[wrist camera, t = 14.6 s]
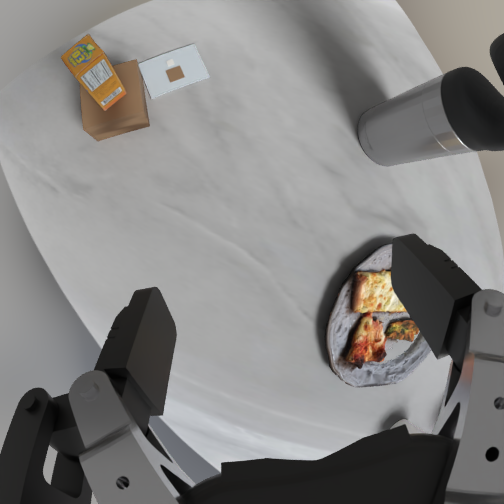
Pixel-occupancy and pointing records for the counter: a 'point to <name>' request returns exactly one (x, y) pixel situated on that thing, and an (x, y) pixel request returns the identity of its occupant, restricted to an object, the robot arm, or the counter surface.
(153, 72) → the page
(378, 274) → the food plate
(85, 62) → the supplement box
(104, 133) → the base brick
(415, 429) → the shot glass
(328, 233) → the counter surface
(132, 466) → the robot arm
